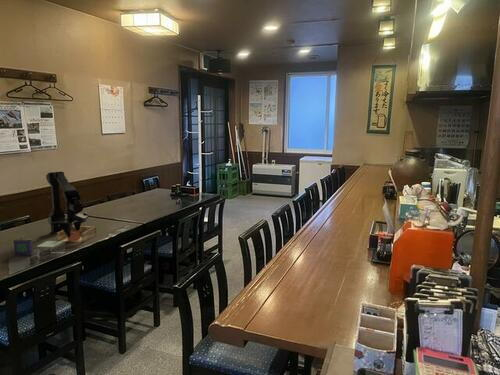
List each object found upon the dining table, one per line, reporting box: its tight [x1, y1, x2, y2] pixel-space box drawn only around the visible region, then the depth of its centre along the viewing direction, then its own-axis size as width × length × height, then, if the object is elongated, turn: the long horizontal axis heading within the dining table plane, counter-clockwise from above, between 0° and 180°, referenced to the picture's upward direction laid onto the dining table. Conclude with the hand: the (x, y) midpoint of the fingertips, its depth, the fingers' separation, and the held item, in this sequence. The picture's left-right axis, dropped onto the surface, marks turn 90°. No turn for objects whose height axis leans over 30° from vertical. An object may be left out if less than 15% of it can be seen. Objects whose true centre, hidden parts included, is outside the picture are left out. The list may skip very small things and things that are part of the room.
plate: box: [36, 240, 65, 248], centre depth 206 cm, size 10×10×1 cm
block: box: [67, 230, 80, 242], centre depth 214 cm, size 5×5×5 cm
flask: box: [13, 235, 34, 257], centre depth 190 cm, size 9×3×11 cm, turn 95°
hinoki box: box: [56, 225, 97, 243], centre depth 218 cm, size 16×15×6 cm
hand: (73, 235), depth 214 cm, fingers open, 9 cm apart
